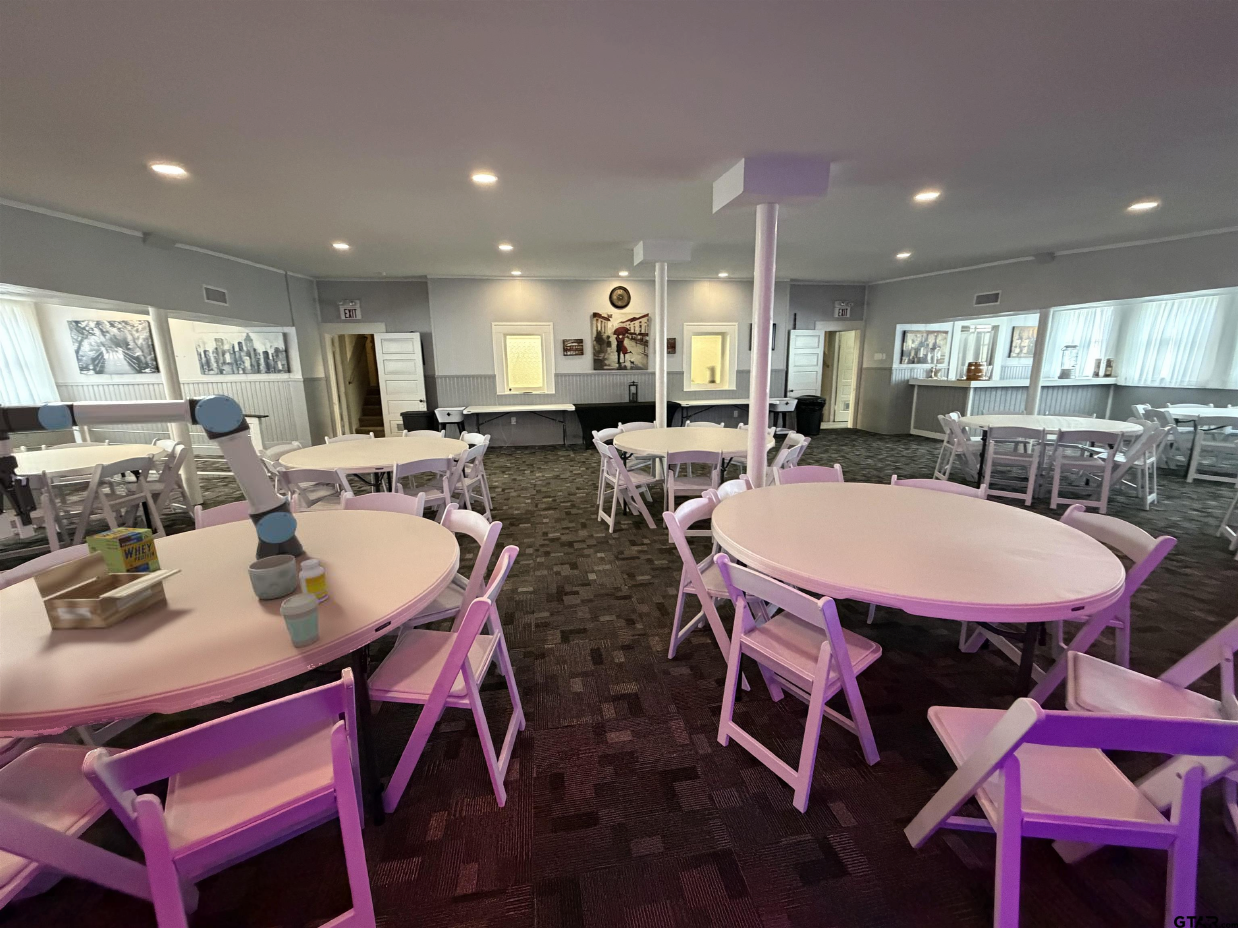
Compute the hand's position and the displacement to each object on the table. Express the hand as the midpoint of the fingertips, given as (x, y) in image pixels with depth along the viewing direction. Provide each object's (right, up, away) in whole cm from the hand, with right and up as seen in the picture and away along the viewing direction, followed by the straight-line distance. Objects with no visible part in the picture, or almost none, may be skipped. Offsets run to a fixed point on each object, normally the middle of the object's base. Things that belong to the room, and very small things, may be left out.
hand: (17, 536), depth 135 cm
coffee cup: (+87, -27, -8) cm, 91 cm away
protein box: (-9, -20, +40) cm, 46 cm away
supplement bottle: (+75, -22, +15) cm, 80 cm away
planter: (+59, -22, +20) cm, 66 cm away
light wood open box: (+20, -25, +10) cm, 33 cm away
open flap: (+7, -12, +8) cm, 16 cm away
